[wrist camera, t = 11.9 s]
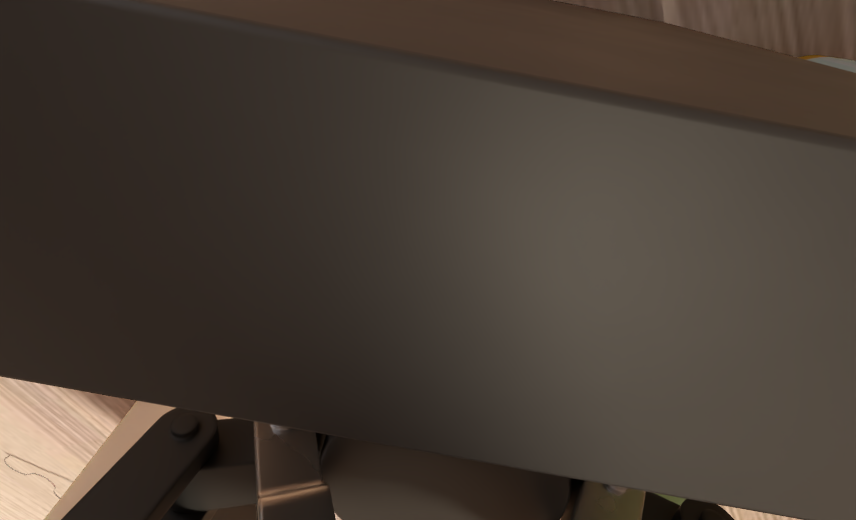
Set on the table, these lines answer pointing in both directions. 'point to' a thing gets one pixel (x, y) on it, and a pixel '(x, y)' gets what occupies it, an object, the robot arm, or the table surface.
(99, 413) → the table surface
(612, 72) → the coffee maker
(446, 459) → the orange canister with lid
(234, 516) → the control block
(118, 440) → the cylindrical container
